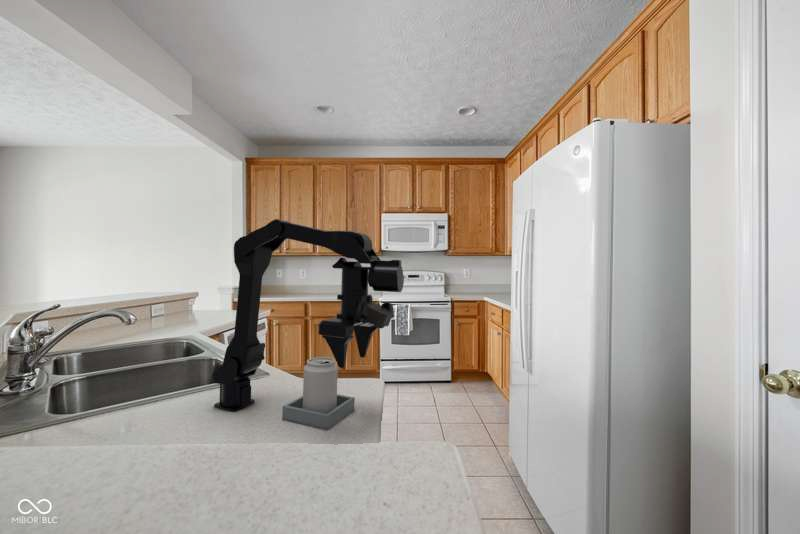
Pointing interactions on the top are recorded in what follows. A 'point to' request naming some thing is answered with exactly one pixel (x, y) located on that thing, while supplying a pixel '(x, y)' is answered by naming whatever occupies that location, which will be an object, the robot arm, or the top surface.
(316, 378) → the can
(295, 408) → the bin
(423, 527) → the top surface
